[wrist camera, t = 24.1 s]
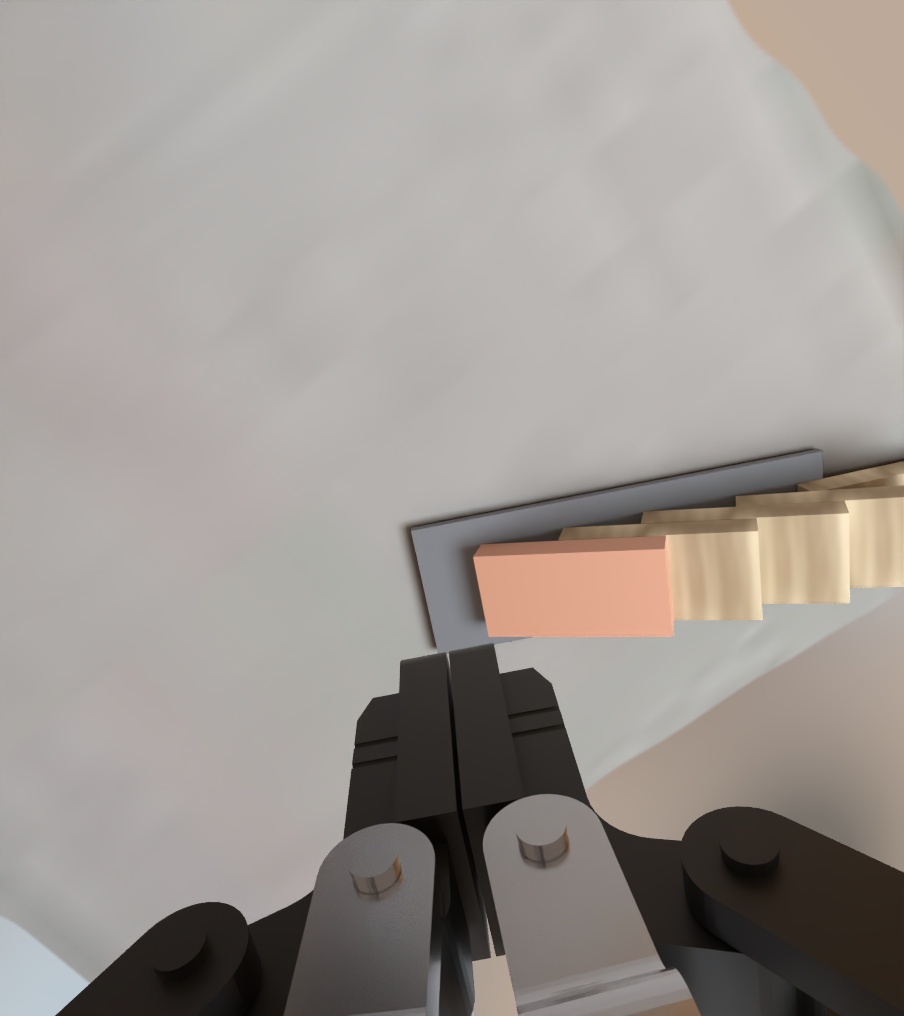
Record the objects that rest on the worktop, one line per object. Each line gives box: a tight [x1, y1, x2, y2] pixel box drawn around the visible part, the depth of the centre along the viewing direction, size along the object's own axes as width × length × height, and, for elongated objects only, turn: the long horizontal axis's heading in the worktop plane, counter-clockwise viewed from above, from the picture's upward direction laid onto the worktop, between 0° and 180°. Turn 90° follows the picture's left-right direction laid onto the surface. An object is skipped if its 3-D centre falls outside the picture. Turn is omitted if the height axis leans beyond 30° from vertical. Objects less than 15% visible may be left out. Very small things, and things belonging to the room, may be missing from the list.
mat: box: [411, 449, 823, 654], centre depth 43 cm, size 23×8×1 cm, turn 101°
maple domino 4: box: [736, 485, 904, 588], centre depth 40 cm, size 2×5×10 cm
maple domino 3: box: [797, 461, 904, 492], centre depth 42 cm, size 2×5×10 cm
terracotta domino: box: [473, 536, 674, 637], centre depth 40 cm, size 2×5×10 cm
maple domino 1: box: [558, 518, 763, 620], centre depth 40 cm, size 2×5×10 cm
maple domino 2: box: [641, 501, 850, 604], centre depth 40 cm, size 2×5×10 cm
